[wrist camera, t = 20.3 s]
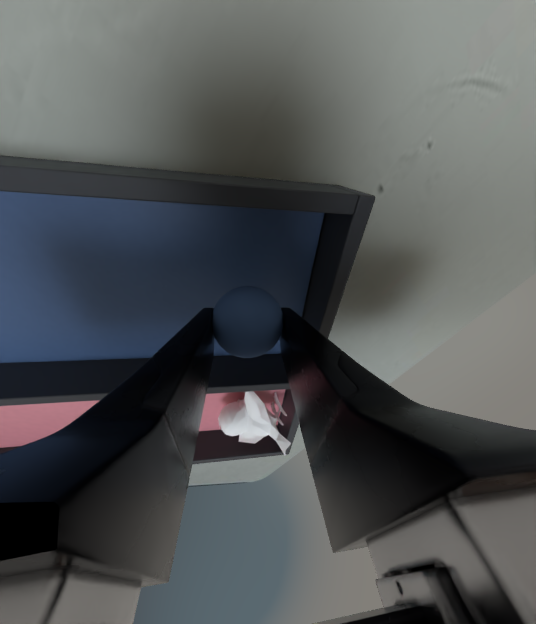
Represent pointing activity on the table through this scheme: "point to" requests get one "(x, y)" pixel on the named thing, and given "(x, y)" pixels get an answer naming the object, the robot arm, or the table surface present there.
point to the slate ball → (247, 322)
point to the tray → (155, 283)
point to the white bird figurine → (252, 420)
